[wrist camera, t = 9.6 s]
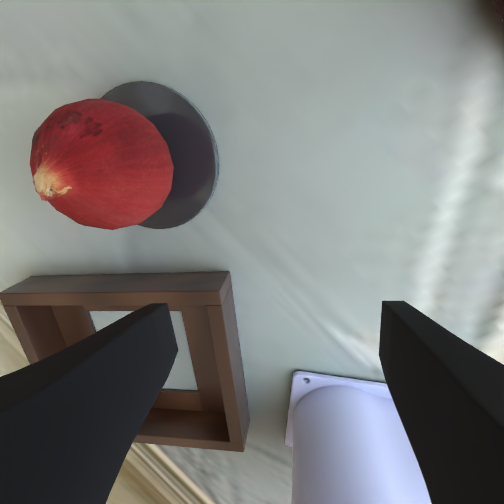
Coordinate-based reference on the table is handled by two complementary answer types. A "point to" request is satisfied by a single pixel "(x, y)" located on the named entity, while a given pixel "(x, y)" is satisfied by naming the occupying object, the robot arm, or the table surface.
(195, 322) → the tray
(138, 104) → the coaster
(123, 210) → the onion
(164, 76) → the table surface
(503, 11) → the brown tall piece
